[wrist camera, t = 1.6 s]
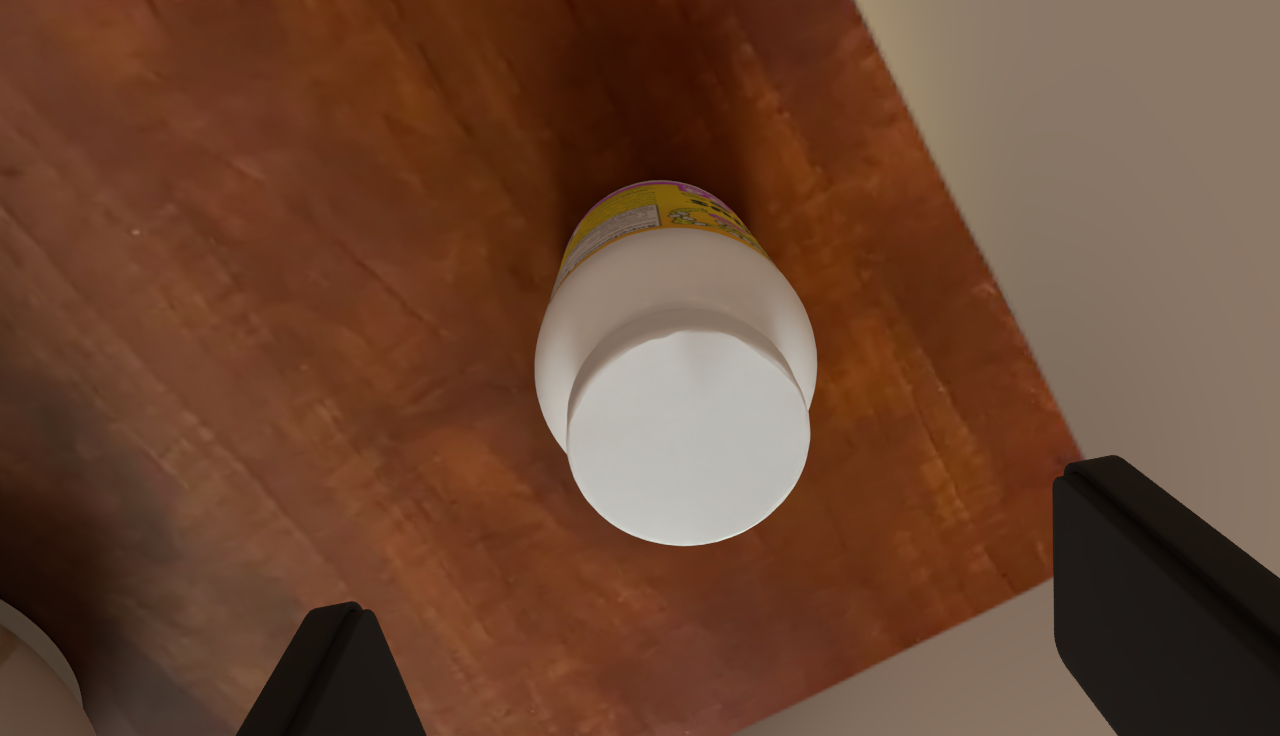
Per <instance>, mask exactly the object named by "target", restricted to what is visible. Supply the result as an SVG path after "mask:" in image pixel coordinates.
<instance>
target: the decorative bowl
mask: <svg viewBox="0 0 1280 736" xmlns="http://www.w3.org/2000/svg"><path fill="white" fill-rule="evenodd" d="M0 736H97V734H96V732H95V730H94V728H93V726H92V724H91V722H90V720H89V719H88V717H87V715H86V713H85V711H84V710H83V705H82V697H81V693H80V688H79V685H78V682H77V680H76V677H75V675H74V673H73V671H72V669H71V667H70V665H69V663H68V662H67V660H66V659H65V657H64V656H63V654H62V653H61V651H60V650H59V649H58V647H57V646H56V645H55V644H54V643H53V642H52V640H51V639H50V638H49V637H48V636H47V635H46V634H45V633H44V632H43V631H42V630H41V629H40V628H39V627H38V626H37V625H35V624H34V623H33V622H32V621H31V620H30V619H28V618H27V617H26V616H24V615H23V614H22V613H21V612H19V611H18V610H16V609H15V608H13V607H12V606H10V605H9V604H7V603H6V602H4V601H2V600H1V599H0Z"/></svg>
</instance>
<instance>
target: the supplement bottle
mask: <svg viewBox="0 0 1280 736" xmlns="http://www.w3.org/2000/svg"><path fill="white" fill-rule="evenodd" d="M816 375H817V351H816V345H815V339H814V335H813V331H812V326H811V324H810V321H809V318H808V316H807V313H806V311H805V308H804V306H803V304H802V303H801V301H800V299H799V297H798V295H797V294H796V292H795V291H794V289H793V288H792V286H791V285H790V283H789V282H788V281H787V279H786V278H785V277H784V275H783V274H782V273H781V272H780V271H779V269H778V268H777V267H776V265H775V264H774V263H773V262H772V260H771V259H770V258H769V256H768V255H767V254H766V252H765V251H764V250H763V249H762V247H761V246H760V244H759V243H758V242H757V240H756V239H755V238H754V237H753V235H752V234H751V232H750V231H749V230H748V229H747V228H746V226H745V225H744V224H743V223H742V221H741V220H740V219H739V218H738V216H737V215H736V214H735V213H734V212H733V211H732V210H731V209H730V208H729V207H728V206H727V205H725V204H724V203H723V202H722V201H720V200H719V199H718V198H716V197H715V196H713V195H712V194H710V193H708V192H706V191H705V190H702V189H700V188H698V187H695V186H692V185H689V184H686V183H682V182H676V181H668V180H653V181H645V182H639V183H636V184H632V185H629V186H626V187H624V188H621V189H619V190H617V191H615V192H613V193H611V194H610V195H608V196H607V197H605V198H604V199H602V200H601V201H600V202H598V203H597V204H596V205H595V206H594V207H593V208H591V209H590V211H589V212H588V213H587V214H586V215H585V216H584V217H583V219H582V220H581V221H580V223H579V224H578V225H577V227H576V229H575V231H574V232H573V234H572V236H571V238H570V240H569V243H568V245H567V247H566V250H565V253H564V256H563V260H562V263H561V266H560V270H559V273H558V276H557V279H556V282H555V285H554V288H553V291H552V295H551V298H550V301H549V304H548V307H547V310H546V313H545V316H544V318H543V321H542V325H541V328H540V333H539V336H538V341H537V346H536V353H535V384H536V391H537V396H538V400H539V403H540V406H541V410H542V413H543V415H544V418H545V420H546V422H547V425H548V427H549V428H550V430H551V432H552V434H553V436H554V437H555V439H556V440H557V442H558V443H559V444H560V446H561V447H562V449H563V450H564V451H565V452H566V453H567V455H568V459H569V463H570V467H571V470H572V473H573V476H574V479H575V481H576V483H577V485H578V486H579V488H580V490H581V492H582V494H583V495H584V497H585V498H586V500H587V501H588V502H589V503H590V504H591V505H592V506H593V508H594V509H595V510H596V511H597V512H598V513H599V514H600V515H601V516H603V517H604V518H605V519H606V520H607V521H609V522H610V523H612V524H613V525H614V526H616V527H618V528H619V529H621V530H623V531H625V532H626V533H629V534H631V535H633V536H636V537H639V538H641V539H644V540H647V541H651V542H656V543H660V544H667V545H677V546H692V545H702V544H708V543H713V542H718V541H721V540H724V539H727V538H729V537H732V536H735V535H737V534H740V533H742V532H744V531H746V530H748V529H749V528H751V527H753V526H755V525H756V524H758V523H759V522H761V521H762V520H763V519H765V518H766V517H767V516H768V515H770V514H771V513H772V512H773V511H774V510H775V509H776V508H777V507H778V506H779V505H780V504H781V503H782V502H783V501H784V500H785V498H786V497H787V496H788V494H789V493H790V492H791V490H792V489H793V488H794V486H795V484H796V482H797V481H798V479H799V477H800V475H801V473H802V470H803V468H804V465H805V461H806V458H807V454H808V448H809V442H810V423H809V413H808V410H809V407H810V404H811V401H812V397H813V394H814V390H815V384H816Z"/></svg>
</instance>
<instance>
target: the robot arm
mask: <svg viewBox="0 0 1280 736" xmlns="http://www.w3.org/2000/svg"><path fill="white" fill-rule="evenodd" d="M1053 570H1054V637H1055V643H1056V647H1057V650H1058V653H1059V655H1060V657H1061V659H1062V661H1063V663H1064V664H1065V666H1066V667H1067V669H1068V670H1069V671H1070V673H1071V674H1072V675H1073V677H1074V678H1075V679H1076V680H1077V682H1078V683H1079V685H1080V686H1081V687H1082V689H1083V690H1084V691H1085V693H1086V694H1087V695H1088V697H1089V698H1090V699H1091V701H1092V702H1093V703H1094V705H1095V706H1096V707H1097V709H1098V710H1099V711H1100V712H1101V714H1102V715H1103V717H1104V718H1105V719H1106V721H1107V722H1108V723H1109V725H1110V726H1111V727H1112V728H1113V730H1114V731H1115V732H1116V734H1117V735H1118V736H1280V578H1279V577H1277V576H1276V575H1275V574H1273V573H1272V572H1271V571H1269V570H1268V569H1267V568H1265V567H1264V566H1263V565H1261V564H1260V563H1259V562H1257V561H1256V560H1255V559H1254V558H1252V557H1251V556H1250V555H1248V554H1247V553H1246V552H1244V551H1243V550H1242V549H1241V548H1239V547H1238V546H1237V545H1235V544H1234V543H1233V542H1231V541H1230V540H1229V539H1227V538H1226V537H1225V536H1224V535H1222V534H1221V533H1220V532H1218V531H1217V530H1216V529H1214V528H1213V527H1211V526H1210V525H1209V524H1208V523H1206V522H1205V521H1204V520H1203V519H1201V518H1200V517H1199V516H1197V515H1196V514H1195V513H1193V512H1192V511H1191V510H1190V509H1188V508H1187V507H1186V506H1184V505H1183V504H1182V503H1180V502H1179V501H1178V500H1176V499H1175V498H1174V497H1172V496H1171V495H1170V494H1169V493H1167V492H1166V491H1165V490H1163V489H1162V488H1161V487H1159V486H1158V485H1157V484H1155V483H1154V482H1153V481H1152V480H1150V479H1149V478H1147V477H1146V476H1145V475H1144V474H1142V473H1141V472H1140V471H1138V470H1137V469H1136V468H1135V467H1133V466H1132V465H1131V464H1129V463H1128V462H1127V461H1125V460H1124V459H1123V458H1121V457H1119V456H1116V455H1110V456H1105V457H1100V458H1095V459H1089V460H1084V461H1079V462H1074V463H1070V464H1068V465H1067V466H1066V468H1065V470H1064V476H1060V477H1057V478H1056V479H1055V480H1054V482H1053ZM236 736H426V733H425V731H424V729H423V726H422V724H421V722H420V719H419V717H418V715H417V712H416V710H415V708H414V705H413V703H412V700H411V698H410V696H409V693H408V691H407V689H406V686H405V684H404V682H403V679H402V677H401V675H400V672H399V670H398V667H397V665H396V663H395V660H394V658H393V656H392V653H391V651H390V649H389V646H388V644H387V642H386V639H385V637H384V634H383V632H382V630H381V627H380V625H379V623H378V620H377V618H376V616H375V614H374V613H373V612H372V611H371V610H368V609H366V610H363V609H362V608H361V606H360V605H359V604H358V603H357V602H352V601H351V602H346V603H341V604H336V605H330V606H325V607H320V608H315V609H313V610H311V611H310V612H309V613H308V614H307V615H306V617H305V618H304V620H303V622H302V624H301V625H300V627H299V629H298V630H297V632H296V634H295V635H294V637H293V639H292V641H291V642H290V644H289V646H288V647H287V649H286V651H285V652H284V654H283V656H282V658H281V659H280V661H279V663H278V664H277V666H276V668H275V669H274V671H273V673H272V675H271V676H270V678H269V680H268V681H267V683H266V685H265V686H264V688H263V690H262V692H261V693H260V695H259V697H258V698H257V700H256V702H255V704H254V705H253V707H252V709H251V710H250V712H249V714H248V715H247V717H246V719H245V721H244V722H243V724H242V726H241V727H240V729H239V731H238V732H237V734H236Z"/></svg>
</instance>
